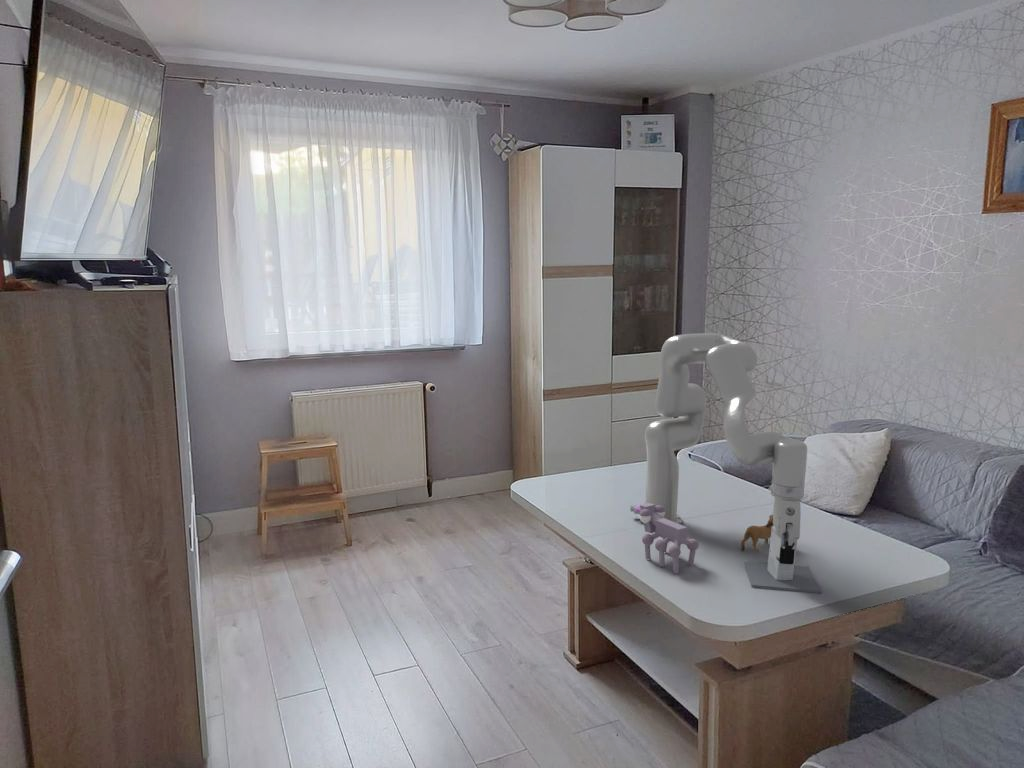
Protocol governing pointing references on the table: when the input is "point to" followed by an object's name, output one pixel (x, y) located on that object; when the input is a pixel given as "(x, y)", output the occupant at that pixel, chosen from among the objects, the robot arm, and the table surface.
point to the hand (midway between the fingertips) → (782, 555)
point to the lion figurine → (758, 534)
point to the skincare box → (774, 565)
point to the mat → (764, 579)
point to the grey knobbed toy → (664, 534)
